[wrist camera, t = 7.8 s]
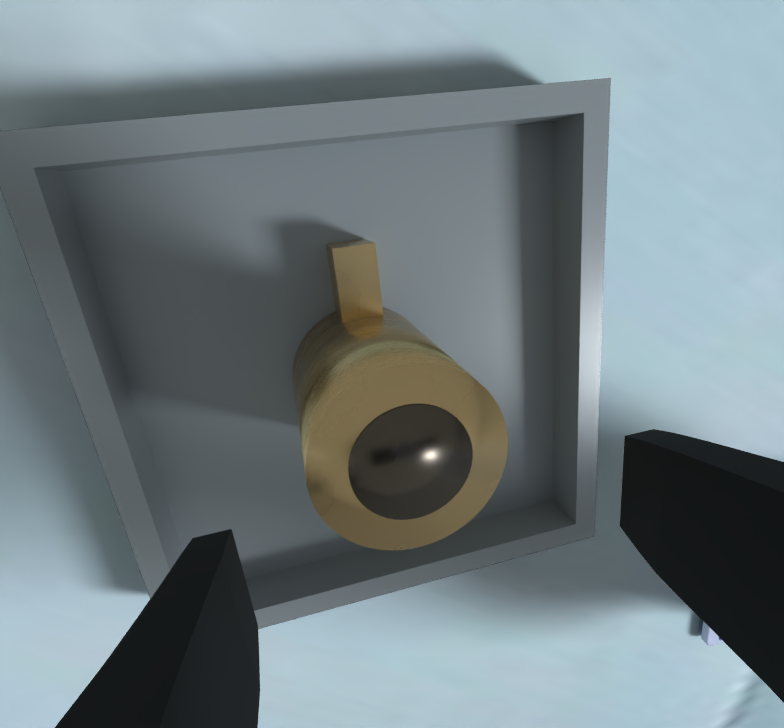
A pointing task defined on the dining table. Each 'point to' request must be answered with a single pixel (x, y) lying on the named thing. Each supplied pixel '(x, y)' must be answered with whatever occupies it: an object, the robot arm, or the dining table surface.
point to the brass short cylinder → (390, 419)
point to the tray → (321, 310)
